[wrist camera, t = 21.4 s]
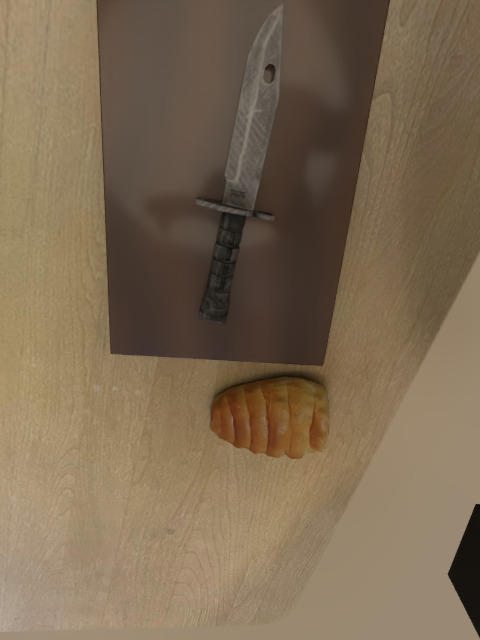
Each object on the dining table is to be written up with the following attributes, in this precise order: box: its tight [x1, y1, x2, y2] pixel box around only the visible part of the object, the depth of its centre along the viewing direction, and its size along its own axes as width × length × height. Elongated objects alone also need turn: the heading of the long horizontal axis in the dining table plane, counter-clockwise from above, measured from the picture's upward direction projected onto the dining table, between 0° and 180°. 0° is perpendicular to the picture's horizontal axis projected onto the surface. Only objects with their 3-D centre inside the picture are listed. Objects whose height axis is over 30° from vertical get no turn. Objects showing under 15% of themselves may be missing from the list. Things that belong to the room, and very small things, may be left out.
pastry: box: [210, 376, 329, 459], centre depth 34 cm, size 9×7×4 cm
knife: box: [196, 4, 283, 324], centre depth 26 cm, size 19×2×5 cm
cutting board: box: [97, 0, 390, 366], centre depth 28 cm, size 16×24×1 cm, turn 175°
